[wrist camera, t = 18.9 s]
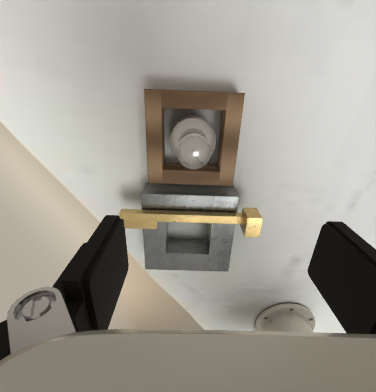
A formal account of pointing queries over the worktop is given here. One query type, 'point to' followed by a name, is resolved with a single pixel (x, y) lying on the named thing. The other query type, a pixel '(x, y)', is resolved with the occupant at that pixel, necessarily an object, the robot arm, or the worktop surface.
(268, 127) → the worktop surface
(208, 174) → the frame
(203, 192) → the spindle block
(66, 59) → the worktop surface
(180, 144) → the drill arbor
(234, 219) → the brass key
